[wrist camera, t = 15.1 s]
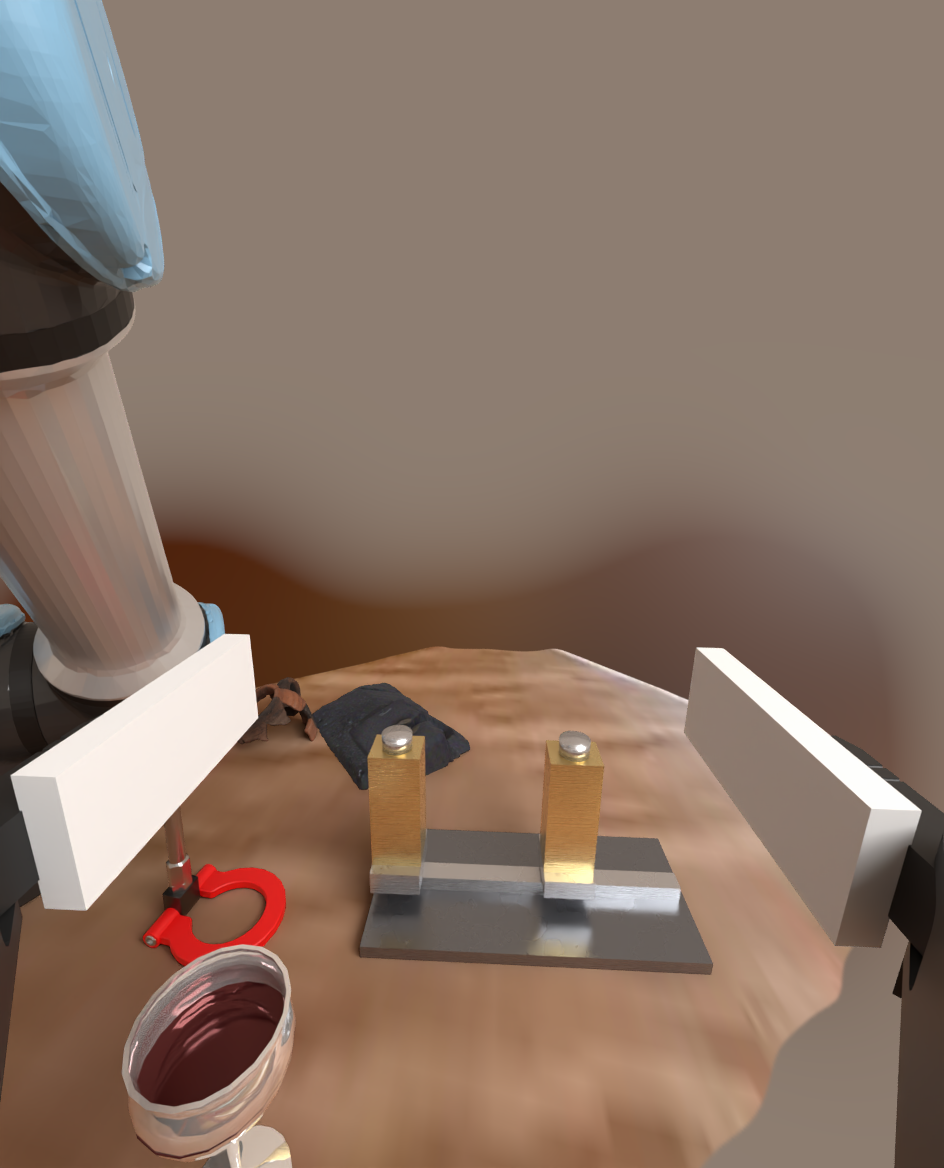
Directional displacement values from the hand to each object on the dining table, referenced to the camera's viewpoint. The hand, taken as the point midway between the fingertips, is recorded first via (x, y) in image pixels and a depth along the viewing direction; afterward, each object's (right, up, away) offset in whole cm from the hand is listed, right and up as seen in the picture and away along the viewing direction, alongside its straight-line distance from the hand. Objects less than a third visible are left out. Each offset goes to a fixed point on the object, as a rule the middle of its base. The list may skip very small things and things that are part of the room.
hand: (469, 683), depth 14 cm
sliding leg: (+8, -22, +28) cm, 37 cm away
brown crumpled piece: (-26, -18, +51) cm, 60 cm away
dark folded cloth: (-12, -18, +52) cm, 56 cm away
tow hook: (-20, -24, +25) cm, 40 cm away
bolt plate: (+5, -24, +27) cm, 37 cm away
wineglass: (-12, -28, +11) cm, 32 cm away
